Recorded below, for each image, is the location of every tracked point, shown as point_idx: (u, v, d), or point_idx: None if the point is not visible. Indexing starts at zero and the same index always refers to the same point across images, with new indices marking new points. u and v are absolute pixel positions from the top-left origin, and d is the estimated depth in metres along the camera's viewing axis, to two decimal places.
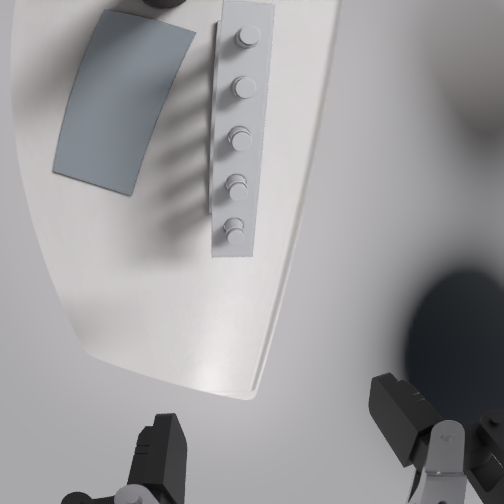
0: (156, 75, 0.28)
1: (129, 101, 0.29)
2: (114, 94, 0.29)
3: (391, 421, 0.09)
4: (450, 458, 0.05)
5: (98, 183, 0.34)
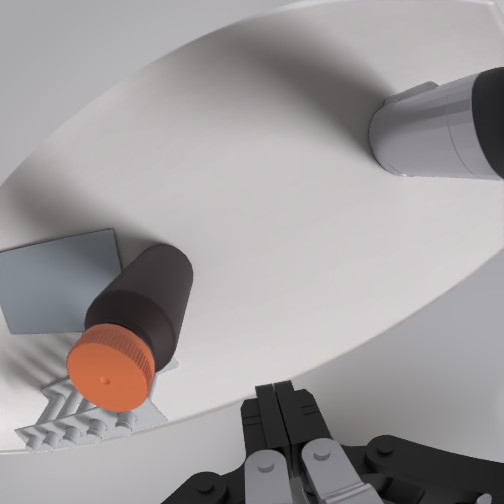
0: (85, 316, 0.32)
1: (57, 304, 0.32)
2: (54, 288, 0.31)
3: None
4: (340, 474, 0.06)
5: (1, 304, 0.31)
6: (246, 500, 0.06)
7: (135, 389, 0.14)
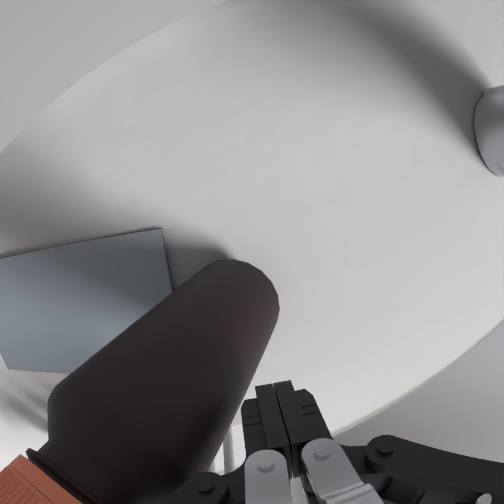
0: None
1: (71, 336, 0.22)
2: (67, 314, 0.22)
3: None
4: (340, 474, 0.06)
5: None
6: (246, 501, 0.06)
7: None
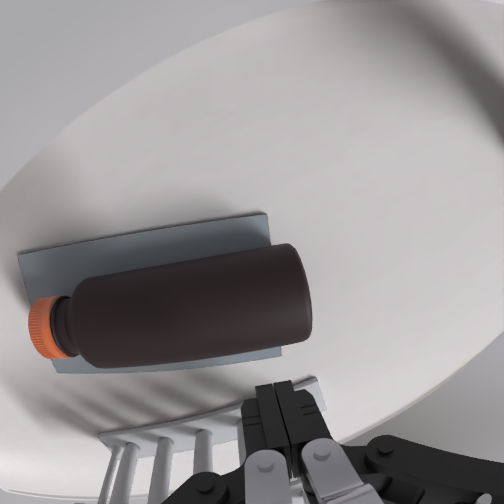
0: None
1: None
2: None
3: None
4: (339, 475, 0.06)
5: None
6: (246, 500, 0.06)
7: None
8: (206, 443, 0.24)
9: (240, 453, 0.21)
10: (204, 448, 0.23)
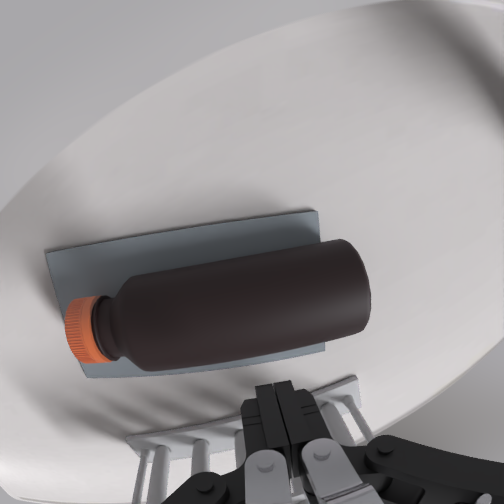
0: None
1: None
2: None
3: None
4: (340, 475, 0.06)
5: None
6: (246, 500, 0.06)
7: None
8: None
9: None
10: None
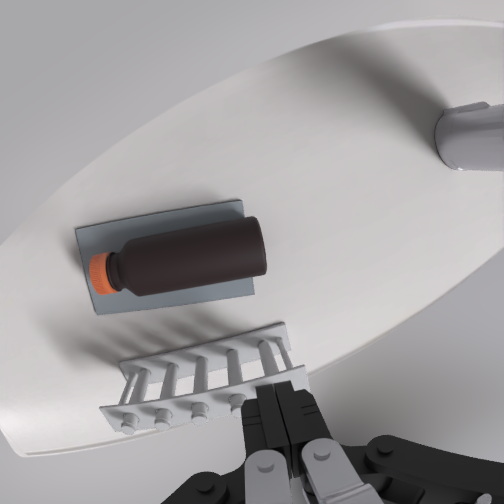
0: (202, 286, 0.37)
1: None
2: None
3: None
4: (339, 474, 0.06)
5: (89, 282, 0.36)
6: (246, 501, 0.06)
7: None
8: (204, 364, 0.38)
9: (228, 368, 0.35)
10: (202, 367, 0.37)
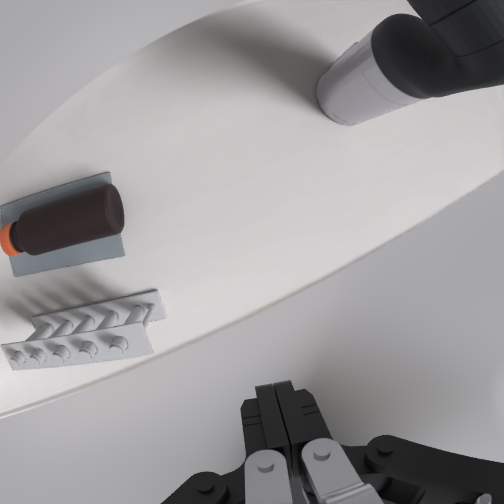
0: (82, 249, 0.39)
1: None
2: None
3: None
4: (340, 475, 0.06)
5: None
6: (246, 501, 0.06)
7: None
8: (87, 321, 0.39)
9: (99, 324, 0.37)
10: (84, 322, 0.38)
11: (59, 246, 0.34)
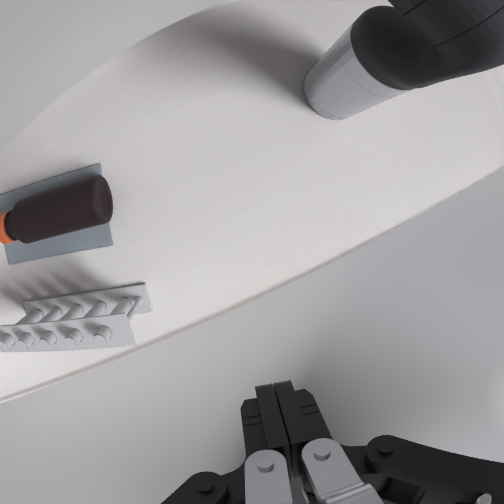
0: (73, 238, 0.39)
1: None
2: None
3: None
4: (339, 474, 0.06)
5: None
6: (246, 501, 0.06)
7: None
8: (75, 309, 0.39)
9: (87, 312, 0.37)
10: (73, 310, 0.39)
11: (50, 234, 0.34)
